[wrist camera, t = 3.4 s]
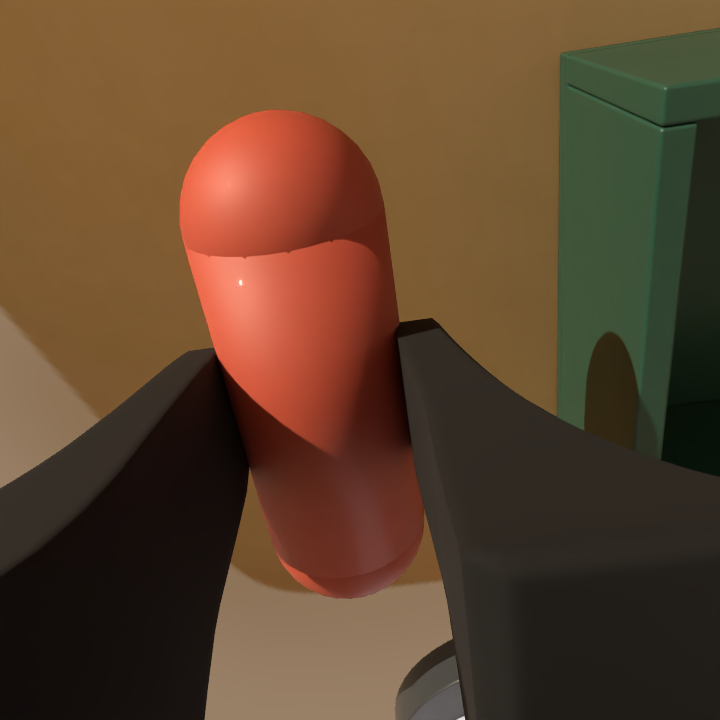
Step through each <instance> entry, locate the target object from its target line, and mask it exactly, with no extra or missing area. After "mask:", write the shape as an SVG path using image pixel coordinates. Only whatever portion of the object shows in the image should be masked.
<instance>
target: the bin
mask: <svg viewBox="0 0 720 720" xmlns="http://www.w3.org/2000/svg"><path fill="white" fill-rule="evenodd" d="M557 417H558V418H559V419H561V420H563V421H565V422H567V423H569V424H571V425H573V426H575V427H578V428H580V429H582V430H584V431H587V432H589V433H591V434H593V435H596V436H598V437H600V438H603V439H605V440H607V441H609V442H612V443H614V444H617V445H619V446H622V447H625V448H627V449H630V450H633V451H635V452H638V453H641V454H644V455H647V456H650V457H653V458H656V459H659V460H662V461H665V462H668V463H671V464H674V465H677V466H680V467H683V468H687V469H690V470H694V471H698V472H702V473H706V474H710V475H714V476H718V477H720V28H716V29H709V30H703V31H697V32H690V33H684V34H678V35H671V36H665V37H659V38H652V39H646V40H640V41H633V42H627V43H621V44H614V45H608V46H602V47H595V48H589V49H583V50H576V51H570V52H564V53H562V54H561V55H560V138H559V251H558V363H557Z"/></svg>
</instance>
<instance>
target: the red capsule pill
mask: <svg viewBox="0 0 720 720" xmlns="http://www.w3.org/2000/svg"><path fill="white" fill-rule="evenodd" d="M180 227H181V233H182V238H183V243H184V247H185V250H186V253H187V257H188V260H189V263H190V267H191V270H192V274H193V277H194V280H195V284H196V287H197V291H198V294H199V297H200V301H201V304H202V307H203V311H204V314H205V318H206V321H207V324H208V328H209V331H210V335H211V338H212V341H213V345H214V348H215V351H216V355H217V358H218V362H219V365H220V368H221V372H222V375H223V379H224V382H225V385H226V389H227V392H228V395H229V399H230V402H231V406H232V409H233V412H234V416H235V419H236V423H237V426H238V429H239V433H240V436H241V439H242V443H243V446H244V450H245V453H246V456H247V460H248V463H249V466H250V470H251V473H252V477H253V480H254V483H255V487H256V490H257V494H258V497H259V500H260V504H261V507H262V510H263V514H264V517H265V521H266V524H267V527H268V531H269V534H270V538H271V541H272V544H273V546H274V549H275V551H276V553H277V555H278V557H279V559H280V561H281V563H282V565H283V566H284V567H285V568H286V569H287V571H288V572H289V573H290V574H291V575H292V576H293V577H294V578H295V580H296V581H298V582H299V583H301V584H302V585H304V586H305V587H307V588H308V589H310V590H312V591H314V592H316V593H318V594H321V595H323V596H327V597H333V598H347V599H352V598H359V597H364V596H368V595H371V594H374V593H376V592H378V591H380V590H382V589H384V588H386V587H388V586H389V585H390V584H392V583H393V582H395V581H396V580H397V579H398V578H399V577H400V576H401V575H402V574H403V573H404V572H405V571H406V569H407V568H408V566H409V565H410V563H411V562H412V560H413V559H414V557H415V556H416V554H417V551H418V548H419V545H420V542H421V539H422V535H423V528H424V507H423V501H422V497H421V493H420V489H419V485H418V481H417V477H416V473H415V467H414V460H413V452H412V445H411V437H410V430H409V422H408V414H407V407H406V399H405V392H404V384H403V377H402V369H401V362H400V354H399V346H398V339H397V331H396V328H397V327H398V326H399V324H400V323H399V315H398V307H397V300H396V292H395V284H394V277H393V269H392V262H391V254H390V246H389V239H388V231H387V223H386V216H385V208H384V201H383V198H382V194H381V190H380V185H379V182H378V179H377V177H376V175H375V172H374V170H373V168H372V166H371V164H370V162H369V160H368V159H367V158H366V156H365V155H364V153H363V152H362V151H361V149H360V148H359V147H358V145H357V144H355V143H354V142H353V141H352V140H351V139H350V138H349V137H348V136H347V135H346V134H345V133H343V132H342V131H341V130H340V129H338V128H336V127H335V126H333V125H331V124H330V123H328V122H326V121H324V120H323V119H320V118H317V117H314V116H311V115H308V114H306V113H302V112H296V111H287V110H268V111H262V112H257V113H252V114H249V115H246V116H243V117H241V118H239V119H237V120H235V121H233V122H231V123H229V124H227V125H225V126H224V127H223V128H221V129H220V130H219V131H218V132H217V133H215V134H214V135H213V136H212V137H211V138H209V139H208V140H207V142H206V143H205V144H204V145H203V147H202V148H201V149H200V151H199V152H198V153H197V155H196V156H195V157H194V159H193V161H192V163H191V165H190V167H189V169H188V171H187V173H186V176H185V178H184V182H183V187H182V191H181V195H180Z"/></svg>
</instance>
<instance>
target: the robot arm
mask: <svg viewBox="0 0 720 720" xmlns="http://www.w3.org/2000/svg"><path fill="white" fill-rule="evenodd" d="M399 323H400V324H399V326H398V327H397V328H396V331H397V339H398V346H399V354H400V362H401V369H402V377H403V384H404V392H405V399H406V407H407V414H408V422H409V430H410V437H411V445H412V452H413V460H414V467H415V473H416V477H417V481H418V485H419V489H420V493H421V497H422V501H423V505H424V509H425V513H426V517H427V520H428V524H429V528H430V532H431V536H432V540H433V544H434V548H435V552H436V556H437V560H438V564H439V568H440V571H441V575H442V579H443V584H444V589H445V594H446V598H447V603H448V609H449V615H450V622H451V629H452V635H453V642H454V648H455V655H456V661H457V668H458V675H459V681H460V688H461V695H462V701H463V708H464V714H465V716H463V717H461V718H458V719H456V720H720V477H718V476H714V475H710V474H706V473H702V472H698V471H694V470H690V469H687V468H683V467H680V466H677V465H674V464H671V463H668V462H665V461H662V460H659V459H656V458H653V457H650V456H647V455H644V454H641V453H638V452H635V451H633V450H630V449H627V448H625V447H622V446H619V445H617V444H614V443H612V442H609V441H607V440H605V439H603V438H600V437H598V436H596V435H593V434H591V433H589V432H587V431H584V430H582V429H580V428H578V427H575V426H573V425H571V424H569V423H567V422H565V421H563V420H561V419H559V418H558V417H556V416H554V415H552V414H551V413H549V412H547V411H545V410H544V409H542V408H540V407H538V406H537V405H535V404H533V403H531V402H530V401H528V400H526V399H525V398H523V397H522V396H520V395H519V394H517V393H515V392H514V391H513V390H511V389H510V388H509V387H507V386H506V385H504V384H503V383H502V382H500V381H499V380H498V379H497V378H495V377H494V376H493V375H492V374H490V373H489V372H488V371H487V370H486V369H485V368H483V367H482V366H481V365H480V364H479V363H478V362H476V361H475V360H474V359H473V358H472V357H471V356H470V355H469V354H467V353H466V352H465V351H464V350H463V349H462V348H461V347H460V346H459V345H458V344H457V343H456V342H455V341H454V340H453V339H452V338H451V337H450V336H449V335H448V334H447V332H446V331H445V330H444V329H443V328H442V327H441V326H440V324H439V323H437V322H436V321H435V320H434V319H432V318H429V319H421V320H414V321H407V322H399ZM248 475H249V463H248V460H247V456H246V453H245V450H244V446H243V443H242V439H241V436H240V433H239V429H238V426H237V423H236V419H235V416H234V412H233V409H232V406H231V402H230V399H229V395H228V392H227V389H226V385H225V382H224V379H223V375H222V372H221V368H220V365H219V362H218V358H217V355H216V351H215V348H208V349H201V350H194V351H188V352H187V353H185V354H183V355H182V356H180V357H179V358H177V359H176V360H175V361H173V362H172V363H171V364H170V365H168V366H167V367H166V368H165V369H163V370H162V371H161V372H160V373H159V374H157V375H156V376H155V377H154V378H152V379H151V380H150V381H149V382H148V383H146V384H145V385H144V386H143V387H142V388H140V389H139V390H138V391H137V392H136V393H134V394H133V395H132V396H131V397H130V398H128V399H127V400H126V401H125V402H123V403H122V404H121V405H120V406H119V407H117V408H116V409H115V410H114V411H112V412H111V413H110V414H108V415H107V416H106V417H104V418H103V419H102V420H100V421H99V422H98V423H97V424H95V425H94V426H93V427H91V428H90V429H89V430H87V431H86V432H85V433H83V434H82V435H81V436H79V437H78V438H77V439H76V440H74V441H73V442H71V443H70V444H69V445H68V446H66V447H64V448H63V449H62V450H60V451H59V452H57V453H56V454H55V455H53V456H51V457H50V458H48V459H47V460H45V461H44V462H42V463H41V464H39V465H38V466H36V467H35V468H33V469H31V470H30V471H28V472H27V473H25V474H23V475H22V476H20V477H19V478H17V479H16V480H14V481H12V482H11V483H9V484H7V485H5V486H4V487H2V488H0V720H204V719H205V709H206V700H207V690H208V683H209V675H210V667H211V658H212V651H213V643H214V634H215V628H216V623H217V618H218V613H219V607H220V603H221V599H222V595H223V590H224V586H225V582H226V578H227V574H228V570H229V566H230V562H231V557H232V553H233V549H234V545H235V541H236V537H237V533H238V528H239V524H240V520H241V515H242V511H243V507H244V502H245V498H246V493H247V485H248Z"/></svg>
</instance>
